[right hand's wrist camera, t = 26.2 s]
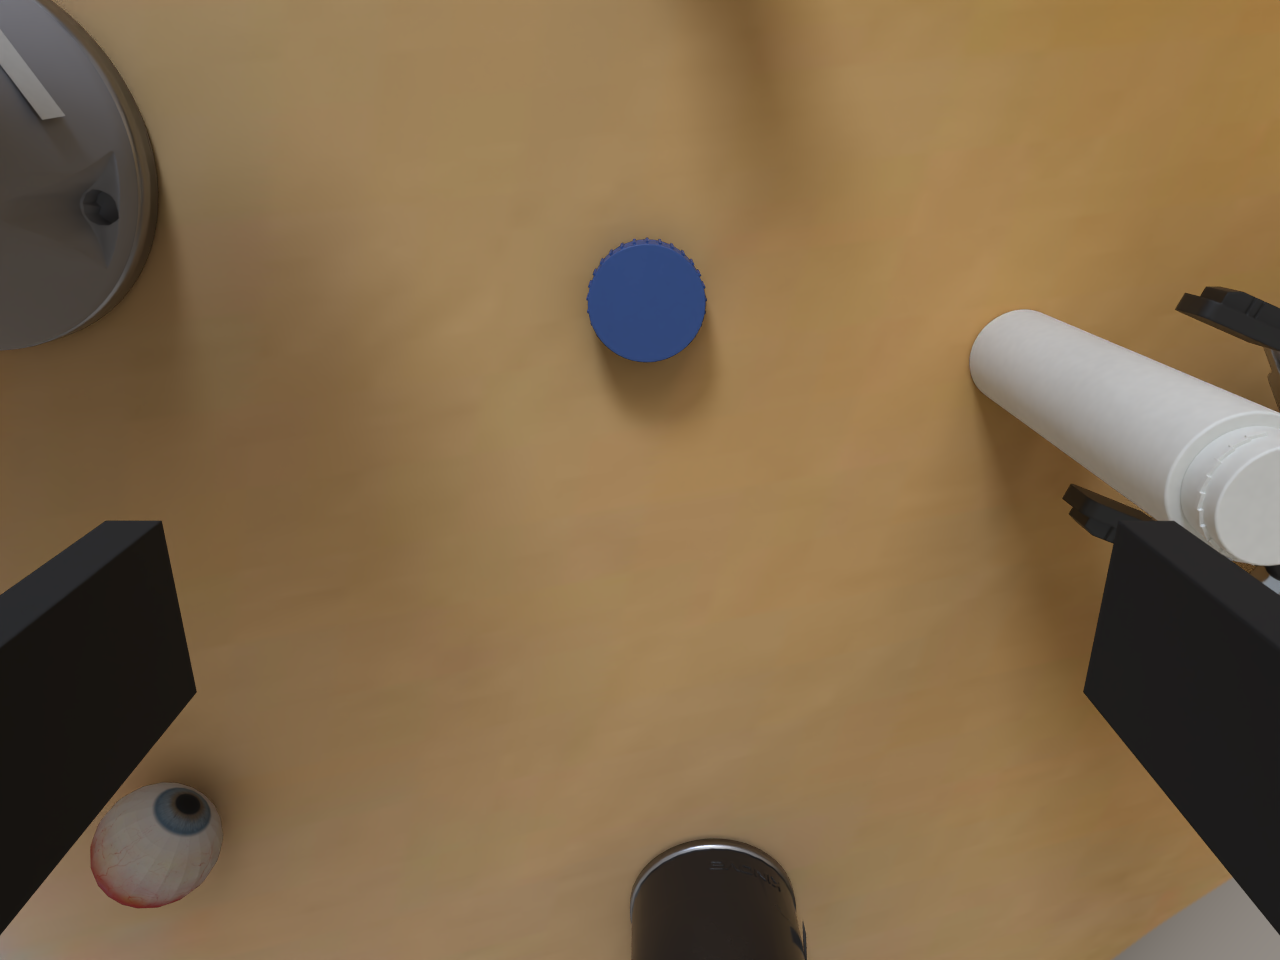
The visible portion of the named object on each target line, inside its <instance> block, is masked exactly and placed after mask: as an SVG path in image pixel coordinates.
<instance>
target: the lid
mask: <svg viewBox="0 0 1280 960" xmlns="http://www.w3.org/2000/svg"><path fill="white" fill-rule="evenodd" d="M593 275H594V277H593V280H592V281H591V280H590V283H589V286H588V287H589V288H590V289H589V293H588V295H587V299H586V300H588V310H587V313H589V317H590V321H591V326H593V329H594V330H595V332H596V334H597V336H598V337H599V339H600V340H601V341H602V342H603V343H604V344H605V346H607V347H608V348H609V349H610V350H611V351H613V352H614V353H616V354H617V355H619V356H621V357H623V358H626V359H629V360H632V361H637V362H656V361H661V360H664V359H667V358H670V357H672V356H674V355H676V354H677V353H679V352H680V351H682V350H683V349H684V348H685V347H687V346H688V345H689V343H690V342H691V341H692V340H693V339H694V338H695V336H696V334H697V333H698V331H699V329H700V327H701V326H702V322H703V318H704V314H705V313H706V311H705V305H706V303H705V301H707V298H706V296H705V292H704V288H705V285H704V283H703V281H701V279H700V276H701V274H700V272H699V270H698V269H697V270H696V268H695V267H694V263H693V260H692V259H690V260H689V259H688V257H687V256H686V255H685V253H684V251H683V250H681V251H680V250H678V249H677V248H675V247H674V246H673V244H672V243H671V244H667V243H664V242H662V241H661V239H658V241H657V240H648V238H646V239H645V240H636V239H633V241H631V242H629V243H626V244H624V243H621V246H619V247H618V248H616V249H615V250H612V249H611V250H610V253H609V254H608V255H607V256H606V257H605V258H604V259H603V258H602V259H601V261H600V265H599V267H598V268H597V269H596V268H595V270H594V272H593Z"/></svg>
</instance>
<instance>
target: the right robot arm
mask: <svg viewBox="0 0 1280 960" xmlns="http://www.w3.org/2000/svg"><path fill="white" fill-rule="evenodd" d="M157 213H158V184H157V173H156V167H155V161H154V155H153V151H152V147H151V143H150V140H149V136H148V133H147V130H146V127H145V125H144V122H143V119H142V116H141V114H140V112H139V110H138V107H137V105H136V103H135V101H134V98H133V96H132V95H131V93H130V91H129V89H128V87H127V86H126V84H125V82H124V80H123V78H122V77H121V75H120V74H119V72H118V71H117V69H116V68H115V66H114V65H113V63H112V62H111V60H110V59H109V58H108V57H107V55H106V54H105V53H104V51H103V50H102V49H101V48H100V46H99V45H98V44H97V43H96V42H95V40H94V39H93V38H92V37H91V36H90V35H89V34H88V33H87V32H86V31H85V30H84V28H83V27H82V26H81V25H79V24H78V23H77V22H76V21H75V20H74V19H73V18H72V17H71V16H70V15H69V14H68V13H67V12H65V11H64V10H63V9H62V8H60V7H59V6H58V5H57V4H55V3H54V2H53V1H51V0H0V350H10V349H20V348H25V347H30V346H35V345H38V344H42V343H45V342H48V341H51V340H54V339H57V338H60V337H63V336H66V335H69V334H72V333H74V332H76V331H79V330H81V329H83V328H85V327H87V326H89V325H90V324H92V323H94V322H96V321H97V320H99V319H100V318H101V317H103V316H104V315H105V314H107V313H108V312H109V311H111V310H112V309H113V308H114V307H115V306H116V305H117V304H118V303H119V302H120V301H121V300H122V299H123V297H124V296H125V295H126V294H127V292H128V291H129V290H130V289H131V287H132V286H133V284H134V283H135V281H136V279H137V278H138V276H139V275H140V273H141V271H142V268H143V266H144V264H145V262H146V260H147V257H148V254H149V251H150V249H151V246H152V242H153V238H154V233H155V229H156V221H157ZM196 692H197V691H196V687H195V682H194V677H193V672H192V667H191V662H190V657H189V652H188V647H187V642H186V638H185V633H184V628H183V623H182V618H181V613H180V608H179V603H178V598H177V593H176V589H175V584H174V579H173V574H172V569H171V564H170V559H169V554H168V549H167V544H166V540H165V535H164V530H163V525H162V521H105V522H103V523H102V524H101V525H99V526H98V527H96V528H95V529H93V530H92V531H91V532H89V533H88V534H86V535H85V536H84V537H82V538H81V539H79V540H78V541H76V542H75V543H74V544H72V545H71V546H69V547H68V548H67V549H65V550H64V551H62V552H61V553H59V554H58V555H57V556H55V557H54V558H52V559H51V560H50V561H48V562H47V563H45V564H44V565H42V566H41V567H40V568H38V569H37V570H35V571H34V572H33V573H31V574H30V575H28V576H27V577H25V578H24V579H23V580H21V581H20V582H18V583H17V584H16V585H14V586H13V587H11V588H10V589H8V590H7V591H6V592H4V593H3V594H1V595H0V935H1V933H2V932H3V931H4V930H5V929H6V927H7V926H8V925H9V924H10V922H11V921H12V920H13V919H14V917H15V916H16V915H17V914H18V912H19V911H20V910H21V909H22V908H23V906H24V905H25V904H26V903H27V901H28V900H29V899H30V898H31V896H32V895H33V894H34V893H35V891H36V890H37V889H38V888H39V886H40V885H41V884H42V883H43V882H44V880H45V879H46V878H47V877H48V875H49V874H50V873H51V872H52V870H53V869H54V868H55V867H56V865H57V864H58V863H59V862H60V861H61V859H62V858H63V857H64V856H65V854H66V853H67V852H68V851H69V849H70V848H71V847H72V846H73V844H74V843H75V842H76V841H77V839H78V838H79V837H80V836H81V835H82V833H83V832H84V831H85V830H86V828H87V827H88V826H89V825H90V823H91V822H92V821H93V820H94V818H95V817H96V816H97V815H98V814H99V812H100V811H101V810H102V809H103V807H104V806H105V805H106V804H107V802H108V801H109V800H110V799H111V797H112V796H113V795H114V794H115V793H116V791H117V790H118V789H119V788H120V786H121V785H122V784H123V783H124V781H125V780H126V779H127V778H128V776H129V775H130V774H131V773H132V771H133V770H134V769H135V768H136V767H137V765H138V764H139V763H140V762H141V760H142V759H143V758H144V757H145V755H146V754H147V753H148V752H149V750H150V749H151V748H152V747H153V746H154V744H155V743H156V742H157V741H158V739H159V738H160V737H161V736H162V734H163V733H164V732H165V731H166V729H167V728H168V727H169V726H170V724H171V723H172V722H173V721H174V720H175V718H176V717H177V716H178V715H179V713H180V712H181V711H182V710H183V708H184V707H185V706H186V705H187V703H188V702H189V701H190V700H191V699H192V697H193V696H194V695H195V694H196ZM1083 692H1084V694H1085V695H1086V696H1087V697H1088V699H1089V700H1090V701H1091V702H1092V703H1093V705H1094V706H1095V707H1096V708H1097V710H1098V711H1099V712H1100V713H1101V715H1102V716H1103V717H1104V718H1105V720H1106V721H1107V722H1108V723H1109V724H1110V726H1111V727H1112V728H1113V729H1114V731H1115V732H1116V733H1117V734H1118V736H1119V737H1120V738H1121V739H1122V741H1123V742H1124V743H1125V744H1126V746H1127V747H1128V748H1129V749H1130V750H1131V752H1132V753H1133V754H1134V755H1135V757H1136V758H1137V759H1138V760H1139V762H1140V763H1141V764H1142V765H1143V767H1144V768H1145V769H1146V770H1147V771H1148V773H1149V774H1150V775H1151V776H1152V778H1153V779H1154V780H1155V781H1156V783H1157V784H1158V785H1159V786H1160V788H1161V789H1162V790H1163V791H1164V793H1165V794H1166V795H1167V796H1168V797H1169V799H1170V800H1171V801H1172V802H1173V804H1174V805H1175V806H1176V807H1177V809H1178V810H1179V811H1180V812H1181V814H1182V815H1183V816H1184V817H1185V818H1186V820H1187V821H1188V822H1189V823H1190V825H1191V826H1192V827H1193V828H1194V830H1195V831H1196V832H1197V833H1198V835H1199V836H1200V837H1201V838H1202V839H1203V841H1204V842H1205V843H1206V844H1207V846H1208V847H1209V848H1210V849H1211V851H1212V852H1213V853H1214V854H1215V856H1216V857H1217V858H1218V859H1219V861H1220V862H1221V863H1222V864H1223V865H1224V867H1225V868H1226V869H1227V870H1228V872H1229V873H1230V874H1231V875H1232V877H1233V878H1234V879H1235V880H1236V882H1237V883H1238V884H1239V885H1240V886H1241V888H1242V889H1243V890H1244V891H1245V893H1246V894H1247V895H1248V896H1249V898H1250V899H1251V900H1252V901H1253V903H1254V904H1255V905H1256V906H1257V908H1258V909H1259V910H1260V911H1261V912H1262V914H1263V915H1264V916H1265V917H1266V919H1267V920H1268V921H1269V922H1270V924H1271V925H1272V926H1273V927H1274V929H1275V930H1276V931H1277V932H1278V933H1279V935H1280V595H1279V594H1277V593H1276V592H1274V591H1273V590H1272V589H1270V588H1269V587H1267V586H1266V585H1264V584H1263V583H1262V582H1260V581H1259V580H1257V579H1256V578H1255V577H1253V576H1252V575H1250V574H1249V573H1247V572H1246V571H1245V570H1243V569H1242V568H1240V567H1239V566H1238V565H1236V564H1235V563H1233V562H1232V561H1230V560H1229V559H1228V558H1226V557H1225V556H1223V555H1222V554H1221V553H1219V552H1218V551H1216V550H1215V549H1213V548H1212V547H1211V546H1209V545H1208V544H1206V543H1205V542H1204V541H1202V540H1201V539H1199V538H1198V537H1196V536H1195V535H1194V534H1192V533H1191V532H1189V531H1188V530H1187V529H1185V528H1184V527H1182V526H1181V525H1179V524H1178V523H1177V522H1175V521H1118V525H1117V530H1116V535H1115V540H1114V544H1113V549H1112V554H1111V559H1110V564H1109V569H1108V574H1107V579H1106V584H1105V589H1104V593H1103V598H1102V603H1101V608H1100V613H1099V618H1098V623H1097V628H1096V633H1095V638H1094V642H1093V647H1092V652H1091V657H1090V662H1089V667H1088V672H1087V677H1086V682H1085V686H1084V691H1083Z"/></svg>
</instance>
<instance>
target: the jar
mask: <svg viewBox="0 0 1280 960" xmlns="http://www.w3.org/2000/svg"><path fill="white" fill-rule="evenodd" d="M970 372H971V376H972V378H973V381H974V383H975V384H976V386H977V387H978V389H979V390H980V391H981V392H982V393H983V394H985V395H986V396H987V397H989V398H990V399H991V400H993V401H994V402H995V403H997V404H998V405H1000V406H1001V407H1002V408H1004V409H1005V410H1006V411H1008V412H1009V413H1011V414H1012V415H1013V416H1015V417H1016V418H1017V419H1019V420H1020V421H1022V422H1023V423H1024V424H1026V425H1027V426H1028V427H1030V428H1031V429H1033V430H1034V431H1035V432H1037V433H1038V434H1039V435H1041V436H1042V437H1044V438H1045V439H1046V440H1048V441H1049V442H1050V443H1052V444H1053V445H1055V446H1056V447H1057V448H1059V449H1060V450H1061V451H1063V452H1064V453H1066V454H1067V455H1068V456H1070V457H1071V458H1072V459H1074V460H1075V461H1077V462H1078V463H1079V464H1081V465H1082V466H1083V467H1085V468H1086V469H1088V470H1089V471H1090V472H1092V473H1093V474H1094V475H1096V476H1097V477H1099V478H1100V479H1101V480H1103V481H1104V482H1105V483H1107V484H1108V485H1110V486H1111V487H1112V488H1114V489H1115V490H1116V491H1118V492H1119V493H1121V494H1122V495H1123V496H1125V497H1126V498H1127V499H1129V500H1130V501H1132V502H1133V503H1134V504H1136V505H1137V506H1138V507H1140V508H1141V509H1143V510H1144V511H1145V512H1147V513H1148V514H1149V515H1151V516H1152V517H1154V518H1155V519H1156V520H1158V521H1175V522H1177V523H1178V524H1179V525H1181V526H1182V527H1184V528H1185V529H1187V530H1188V531H1189V532H1191V533H1192V534H1194V535H1195V536H1196V537H1198V538H1199V539H1201V540H1202V541H1204V542H1205V543H1206V544H1208V545H1209V546H1211V547H1212V548H1213V549H1215V550H1216V551H1218V552H1219V553H1221V554H1223V555H1225V556H1227V557H1229V558H1231V559H1233V560H1234V561H1237V562H1243V563H1249V564H1251V565H1260V566H1272V565H1280V413H1278V412H1276V411H1274V410H1271V409H1269V408H1267V407H1264V406H1262V405H1259V404H1257V403H1255V402H1252V401H1250V400H1248V399H1245V398H1243V397H1240V396H1238V395H1236V394H1233V393H1231V392H1229V391H1226V390H1224V389H1221V388H1219V387H1217V386H1214V385H1212V384H1210V383H1207V382H1205V381H1202V380H1200V379H1198V378H1195V377H1193V376H1191V375H1188V374H1186V373H1183V372H1181V371H1179V370H1176V369H1174V368H1171V367H1169V366H1167V365H1164V364H1162V363H1160V362H1157V361H1155V360H1152V359H1150V358H1148V357H1145V356H1143V355H1141V354H1138V353H1136V352H1133V351H1131V350H1129V349H1126V348H1124V347H1122V346H1119V345H1117V344H1114V343H1112V342H1110V341H1107V340H1105V339H1103V338H1100V337H1098V336H1095V335H1093V334H1091V333H1088V332H1086V331H1084V330H1081V329H1079V328H1076V327H1074V326H1072V325H1069V324H1067V323H1065V322H1062V321H1060V320H1057V319H1055V318H1053V317H1050V316H1048V315H1046V314H1043V313H1041V312H1038V311H1034V310H1015V311H1011V312H1008V313H1005V314H1003V315H1001V316H999V317H997V318H995V319H994V320H992V321H991V322H990V323H989V324H988V325H986V326H985V328H984V329H983V330H982V331H981V332H980V334H979V335H978V337H977V338H976V340H975V342H974V344H973V347H972V350H971V354H970Z"/></svg>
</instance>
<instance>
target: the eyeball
mask: <svg viewBox="0 0 1280 960" xmlns="http://www.w3.org/2000/svg"><path fill="white" fill-rule="evenodd" d="M222 839H223V832H222V824H221V818H220V815H219V813H218V811H217V809H216V808H215V806H214V804H213V803H212V802H211V801H210V800H209V799H208V798H207V797H206V796H205V795H204V794H202V793H201V792H199V791H198V790H196V789H194V788H192V787H189V786H186V785H183V784H180V783H168V782H162V783H157V784H153V785H148V786H143V787H141V788H139V789H137V790H135V791H133V792H132V793H130V794H128V795H126V796H124V797H123V798H121V799H120V800H119V801H117V803H116V804H115V805H114V806H113V807H112V808H111V809H110V810H109V811H108V813H107V814H106V815H105V816H104V817H103V818H102V819H101V821H100V823H99V825H98V827H97V830H96V832H95V835H94V838H93V840H92V844H91V870H92V872H93V874H94V877H95V879H96V882H97V884H98V886H99V887H100V888H101V889H102V890H103V891H104V892H105V894H106V895H107V896H108V897H110V898H112V899H113V900H115V901H117V902H118V903H120V904H122V905H126V906H130V907H134V908H155V907H161V906H163V905H166V904H169V903H172V902H175V901H178V900H180V899H182V898H183V897H184V896H186V895H187V894H189V893H190V892H191V891H193V890H194V889H195V888H197V887H198V886H199V885H200V884H201V883H202V882H203V881H204V880H205V878H206V877H207V875H208V874H209V872H210V871H211V870H212V868H213V866H214V865H215V863H216V862H217V859H218V857H219V853H220V849H221V844H222Z"/></svg>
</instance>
